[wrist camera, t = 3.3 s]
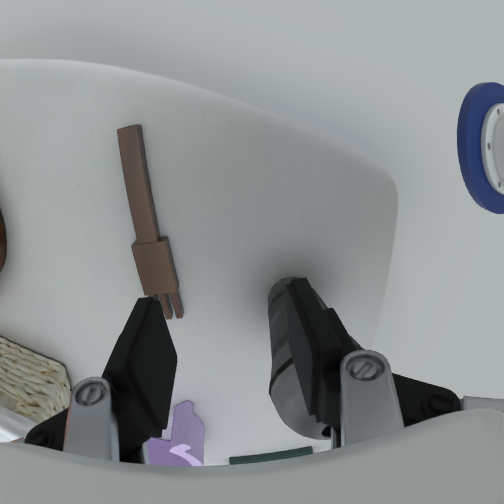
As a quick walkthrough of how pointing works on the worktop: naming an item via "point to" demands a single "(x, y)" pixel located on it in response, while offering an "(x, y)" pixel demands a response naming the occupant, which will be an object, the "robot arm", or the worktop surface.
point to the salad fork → (147, 225)
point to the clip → (180, 440)
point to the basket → (28, 390)
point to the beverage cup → (289, 370)
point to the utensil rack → (271, 456)
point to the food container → (2, 244)
